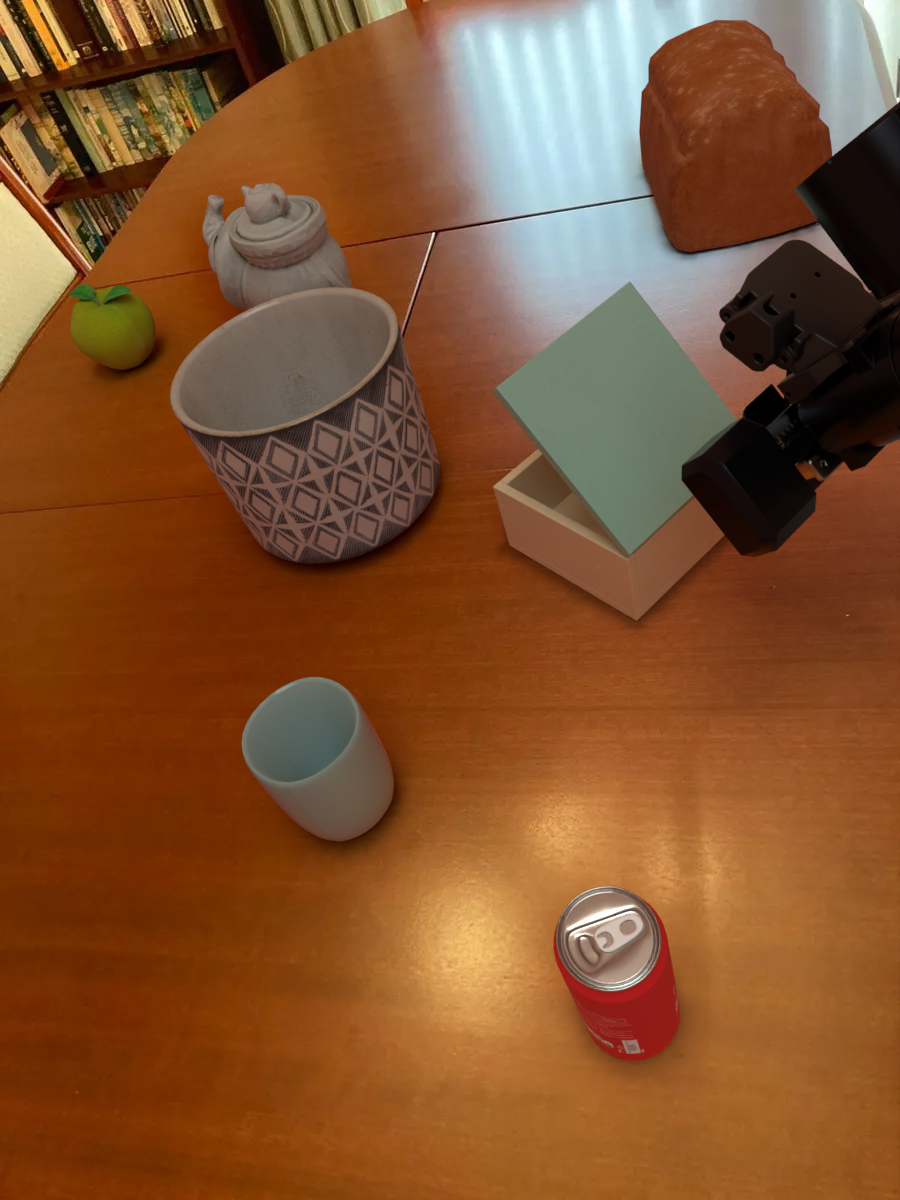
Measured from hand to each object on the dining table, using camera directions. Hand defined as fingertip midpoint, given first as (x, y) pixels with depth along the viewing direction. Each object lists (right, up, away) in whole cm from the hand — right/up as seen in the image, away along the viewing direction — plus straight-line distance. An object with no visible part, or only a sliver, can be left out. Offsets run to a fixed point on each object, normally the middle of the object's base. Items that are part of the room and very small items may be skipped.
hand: (737, 454), depth 55 cm
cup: (-25, -23, +6) cm, 35 cm away
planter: (-27, 0, +27) cm, 38 cm away
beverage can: (-8, -32, -7) cm, 34 cm away
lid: (-6, +4, +6) cm, 9 cm away
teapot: (-35, +22, +49) cm, 64 cm away
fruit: (-58, +21, +55) cm, 82 cm away
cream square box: (-4, -3, +16) cm, 17 cm away
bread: (+14, +38, +46) cm, 61 cm away
